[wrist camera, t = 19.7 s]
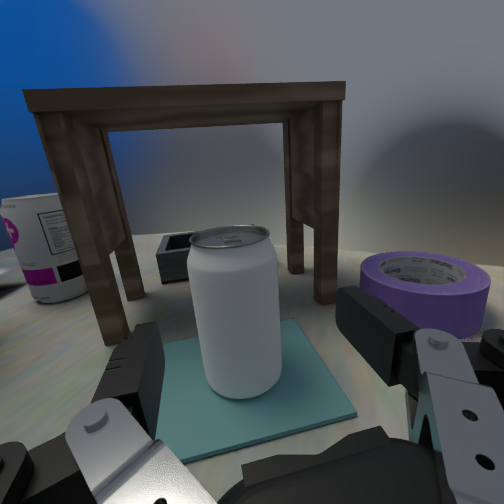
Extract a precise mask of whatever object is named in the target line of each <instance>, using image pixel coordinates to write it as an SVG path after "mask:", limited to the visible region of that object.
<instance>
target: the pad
mask: <svg viewBox="0 0 504 504" xmlns="http://www.w3.org/2000/svg"><path fill="white" fill-rule="evenodd" d="M280 331H281V353H282V371H281V375H280V377H279V379H278V381H277V382H276V383H275V384H274V386H272V387H271V388H270V389H269V390H268V391H266V392H265V393H263V394H262V395H260V396H257V397H254V398H251V399H245V400H236V399H230V398H227V397H225V396H222V395H220V394H218V393H217V392H215V391H214V390H213V389H212V388H211V387H210V385H209V384H208V382H207V379H206V375H205V370H204V364H203V359H202V353H201V347H200V341H199V336H197V337H192V338H187V339H182V340H177V341H172V342H166V343H164V344H163V350H164V355H165V372H164V379H163V386H162V393H161V401H160V408H159V415H158V422H157V429H156V437H155V441H156V440H157V439H160V440H162V441H163V442H164V443H165V444H166V445H167V446H168V448H169V449H170V450H171V451H172V452H173V453H174V455H175V456H176V457H177V458H178V459H179V460H180V461H181V463H182V464H184V463H188V462H192V461H195V460H199V459H202V458H206V457H210V456H213V455H217V454H221V453H224V452H228V451H232V450H235V449H239V448H243V447H246V446H250V445H253V444H257V443H261V442H264V441H268V440H272V439H275V438H279V437H283V436H286V435H290V434H293V433H297V432H301V431H304V430H308V429H312V428H315V427H319V426H323V425H326V424H330V423H334V422H337V421H341V420H344V419H348V418H352V417H355V416H357V411H356V410H355V408H354V407H353V406H352V404H351V403H350V401H349V400H348V398H347V397H346V395H345V394H344V392H343V391H342V389H341V388H340V386H339V385H338V383H337V382H336V380H335V379H334V377H333V376H332V374H331V373H330V371H329V370H328V368H327V367H326V365H325V364H324V362H323V361H322V359H321V358H320V356H319V355H318V353H317V352H316V350H315V349H314V347H313V346H312V344H311V343H310V341H309V340H308V338H307V337H306V335H305V334H304V332H303V331H302V329H301V328H300V326H299V325H298V323H297V322H296V320H295V319H294V318H291V319H286V320H280Z"/></svg>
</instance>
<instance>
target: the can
mask: <svg viewBox="0 0 504 504" xmlns="http://www.w3.org/2000/svg"><path fill="white" fill-rule="evenodd" d="M268 236H269V231H268V230H267V229H266V228H263V227H260V226H253V225H232V226H223V227H217V228H212V229H207V230H204V231H201V232H198V233H196V234H194V235H193V236H191V237H190V239H189V242H190V244H191V249H190V252H189V255H188V258H187V268H188V275H189V281H190V288H191V294H192V300H193V306H194V312H195V318H196V324H197V330H198V335H199V341H200V347H201V353H202V359H203V364H204V370H205V375H206V379H207V382H208V384H209V385H210V387H211V388H212V389H213V390H214V391H215V392H217V393H218V394H220V395H222V396H225V397H227V398H230V399H236V400H245V399H251V398H254V397H257V396H260V395H262V394H263V393H265V392H266V391H268V390H269V389H270V388H271V387H272V386H274V384H275V383H276V382H277V381H278V379H279V377H280V375H281V371H282V353H281V331H280V310H279V290H278V271H277V257H276V251H275V249H274V247H273V245H272V243H271V242H270V240H269V237H268Z"/></svg>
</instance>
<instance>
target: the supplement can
mask: <svg viewBox="0 0 504 504" xmlns="http://www.w3.org/2000/svg"><path fill="white" fill-rule="evenodd" d="M0 215H1V217H2V220H3V222H4V225H5V228H6V230H7V232H8V235H9V238H10V240H11V243H12V245H13V248H14V251H15V253H16V256H17V258H18V261H19V263H20V266H21V268H22V271H23V274H24V276H25V279H26V281H27V284H28V286H29V289H30V291H31V294H32V297H33V298H34V299H35V300H38V301H41V302H42V303H56V302H61V301H66V300H69V299H72V298H75V297H77V296H80V295H82V294H84V293H86V292H87V291H88V289H87V286H86V283H85V279H84V276H83V273H82V270H81V266H80V263H79V260H78V257H77V254H76V250H75V247H74V244H73V241H72V238H71V234H70V231H69V228H68V225H67V222H66V218H65V215H64V212H63V209H62V205H61V202H60V199H59V196H58V193H50V194H40V195H30V196H22V197H14V198H7V199H2V205H1V208H0Z"/></svg>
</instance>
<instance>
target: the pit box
mask: <svg viewBox="0 0 504 504" xmlns="http://www.w3.org/2000/svg"><path fill="white" fill-rule="evenodd" d="M252 225H253V226H255V225H254V224H252ZM198 232H201V231H195V232H187V233H179V234H171V235H164V236H163V239H162V241H161V243H160V246H159V248H158V250H157V253H156V258H157V263H158V268H159V273H160V277H161V282H162V284H166V283H172V282H179V281H185V280H189V275H188V268H187V258H188V255H189V252H190V249H191V244H190V242H189V239H190V237H191V236H193V235H194V234H196V233H198ZM269 240H270V239H269Z"/></svg>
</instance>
